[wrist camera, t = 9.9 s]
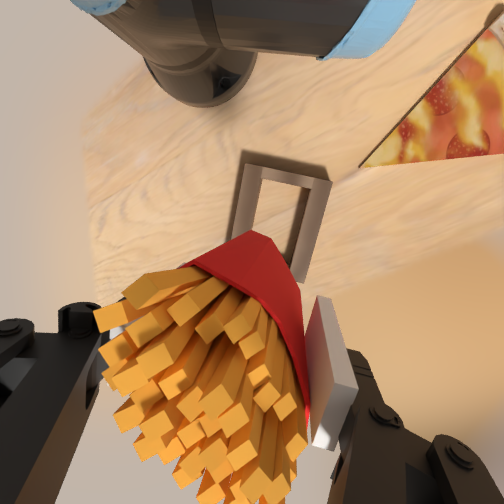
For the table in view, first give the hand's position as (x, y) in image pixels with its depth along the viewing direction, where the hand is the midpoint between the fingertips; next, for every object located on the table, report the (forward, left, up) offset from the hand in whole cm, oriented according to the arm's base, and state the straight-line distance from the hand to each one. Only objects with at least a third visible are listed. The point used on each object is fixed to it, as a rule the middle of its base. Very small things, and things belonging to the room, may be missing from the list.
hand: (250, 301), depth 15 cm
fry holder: (0, 0, -27) cm, 27 cm away
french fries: (0, 0, -5) cm, 5 cm away
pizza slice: (+18, +21, -28) cm, 39 cm away
